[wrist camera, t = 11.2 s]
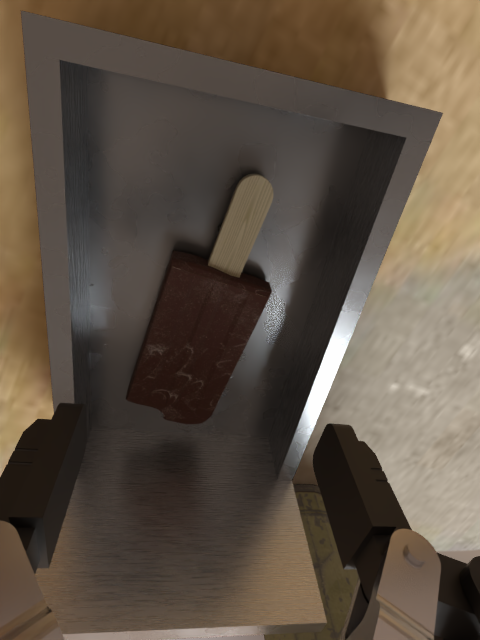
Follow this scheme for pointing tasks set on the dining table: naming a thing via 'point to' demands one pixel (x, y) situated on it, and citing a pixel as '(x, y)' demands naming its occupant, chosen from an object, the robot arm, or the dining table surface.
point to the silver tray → (140, 298)
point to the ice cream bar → (204, 316)
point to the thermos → (323, 567)
